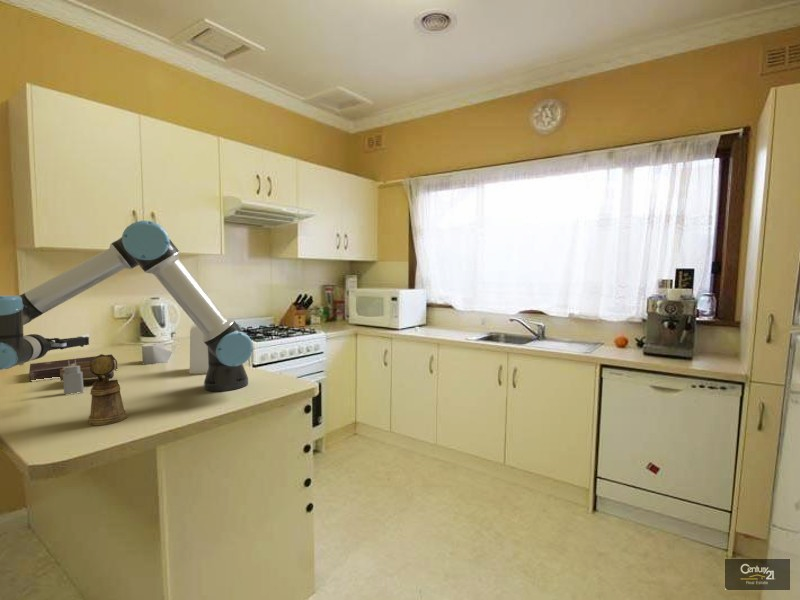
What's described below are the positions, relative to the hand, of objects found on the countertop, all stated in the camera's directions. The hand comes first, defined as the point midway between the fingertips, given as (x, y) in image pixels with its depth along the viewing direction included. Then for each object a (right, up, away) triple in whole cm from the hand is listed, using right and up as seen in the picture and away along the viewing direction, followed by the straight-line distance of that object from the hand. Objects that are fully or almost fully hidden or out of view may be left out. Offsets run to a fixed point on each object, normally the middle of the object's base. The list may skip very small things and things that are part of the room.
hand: (64, 338), depth 140 cm
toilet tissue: (-4, -17, +59) cm, 62 cm away
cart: (-8, -19, +23) cm, 31 cm away
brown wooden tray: (-29, -19, +41) cm, 53 cm away
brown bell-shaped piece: (+28, -22, -19) cm, 40 cm away
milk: (+31, -18, +40) cm, 54 cm away
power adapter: (-3, -20, +8) cm, 22 cm away
